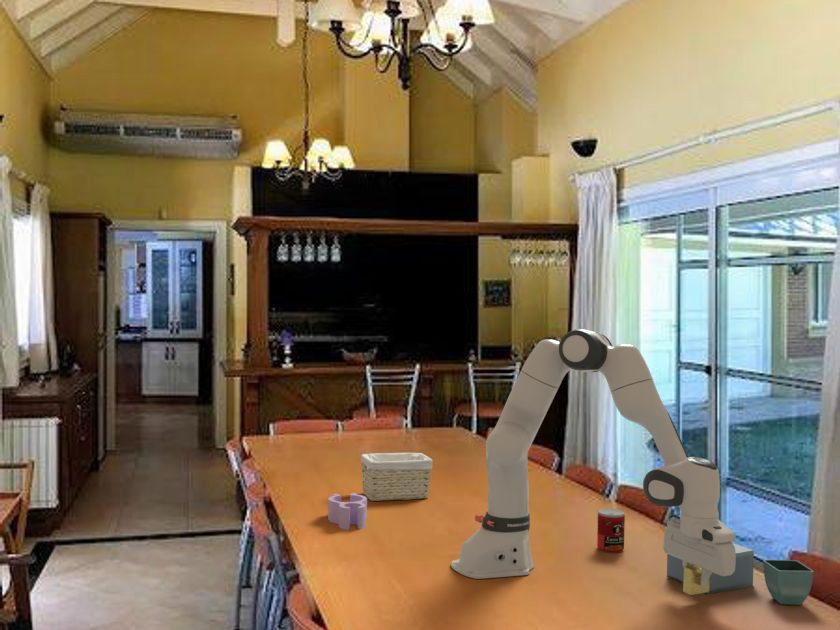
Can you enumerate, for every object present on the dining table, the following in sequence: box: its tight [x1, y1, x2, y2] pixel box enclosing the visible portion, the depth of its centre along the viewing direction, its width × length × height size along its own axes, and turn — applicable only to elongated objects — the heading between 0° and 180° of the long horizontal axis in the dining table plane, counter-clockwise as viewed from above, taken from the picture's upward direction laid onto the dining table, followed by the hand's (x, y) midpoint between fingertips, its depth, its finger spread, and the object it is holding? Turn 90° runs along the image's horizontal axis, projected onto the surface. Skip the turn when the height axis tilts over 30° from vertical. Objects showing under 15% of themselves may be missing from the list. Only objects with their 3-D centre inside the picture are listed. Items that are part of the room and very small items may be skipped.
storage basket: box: [360, 452, 433, 502], centre depth 309 cm, size 24×16×15 cm
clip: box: [327, 492, 368, 531], centre depth 273 cm, size 20×12×7 cm, turn 14°
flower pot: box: [762, 559, 815, 606], centre depth 206 cm, size 9×9×9 cm
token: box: [682, 565, 710, 596], centre depth 205 cm, size 6×2×6 cm, turn 117°
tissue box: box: [666, 543, 755, 595], centre depth 220 cm, size 16×14×9 cm
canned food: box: [596, 508, 626, 554], centre depth 247 cm, size 8×8×11 cm
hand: (696, 582), depth 205 cm, fingers closed on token, 2 cm apart
